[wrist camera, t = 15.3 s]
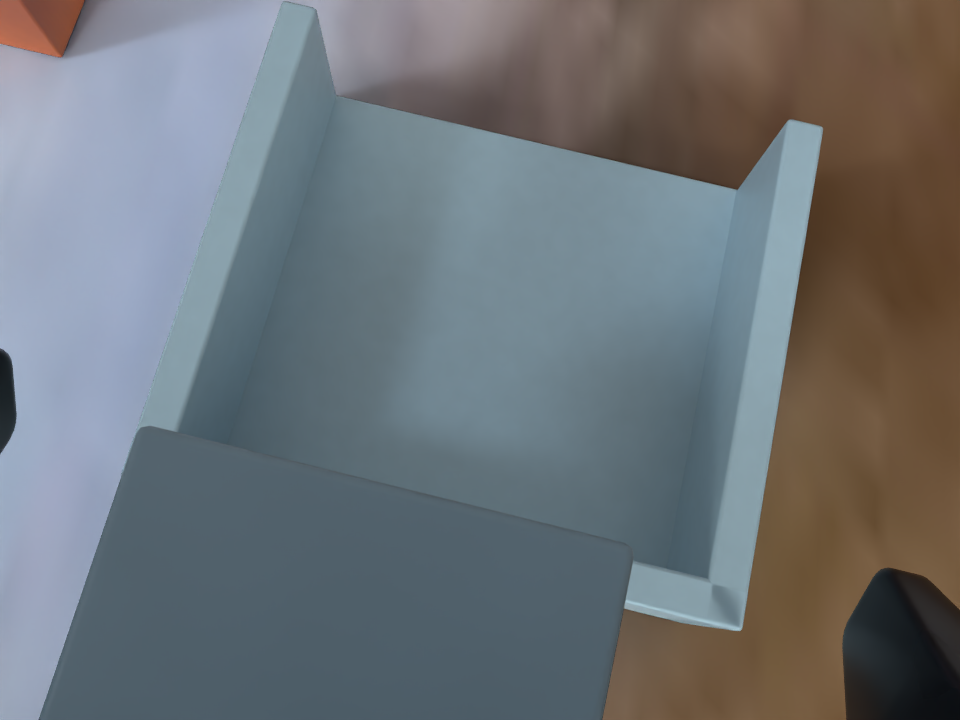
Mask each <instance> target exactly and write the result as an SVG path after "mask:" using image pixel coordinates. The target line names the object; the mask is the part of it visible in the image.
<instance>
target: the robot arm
mask: <svg viewBox="0 0 960 720" xmlns="http://www.w3.org/2000/svg"><path fill="white" fill-rule="evenodd" d="M15 424H16V402H15V391H14V379H13V368H12V361H11V358H10V356H9V355H8V353H7V352H5V351H4V350H3V349H0V454H1V452H2V451H3V449H4V448H5V446H6V444H7V443H8V441H9V440H10V438H11V436H12V434H13V431H14V428H15ZM843 666H844V684H845V702H846V720H960V610H959V609H958V608H957V607H956V606H955V605H954V604H953V603H952V602H951V601H950V600H949V599H948V598H947V597H946V596H945V595H944V594H943V593H942V592H941V591H940V590H939V589H938V588H937V587H936V586H935V585H934V584H933V583H932V582H931V581H929V580H928V579H927V578H925V577H923V576H921V575H918V574H914V573H909V572H905V571H901V570H897V569H893V568H884V569H881V570H880V571H878V572H877V573H876V574H875V576H874V577H873V578H872V580H871V582H870V584H869V585H868V587H867V589H866V591H865V592H864V594H863V596H862V598H861V599H860V601H859V603H858V604H857V606H856V608H855V610H854V611H853V613H852V615H851V617H850V618H849V620H848V622H847V624H846V627H845V630H844V635H843Z"/></svg>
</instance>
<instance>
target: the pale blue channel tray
mask: <svg viewBox="0 0 960 720" xmlns="http://www.w3.org/2000/svg"><path fill="white" fill-rule="evenodd" d="M822 133H823V128H822V127H821V126H818V125H814V124H809V123H805V122H801V121H797V120H788V121H787V123H786V124H785V125H784V127H783V128H782V129H781V131H780V132H779V134H778V135H777V136H776V138H775V139H774V140H773V142H772V143H771V145H770V146H769V147H768V149H767V150H766V152H765V153H764V154H763V156H762V157H761V158H760V160H759V161H758V163H757V164H756V165H755V167H754V168H753V170H752V171H751V172H750V174H749V175H748V176H747V178H746V179H745V181H744V182H743V183H742V185H741V186H740V187H739V189H738V190H736V189H731V188H727V187H723V186H719V185H715V184H710V183H706V182H702V181H698V180H693V179H689V178H685V177H681V176H676V175H672V174H668V173H664V172H659V171H655V170H651V169H647V168H642V167H638V166H634V165H630V164H626V163H621V162H617V161H613V160H609V159H604V158H600V157H596V156H592V155H587V154H583V153H579V152H575V151H570V150H566V149H562V148H558V147H553V146H549V145H545V144H541V143H537V142H532V141H528V140H524V139H520V138H515V137H511V136H507V135H503V134H498V133H494V132H490V131H486V130H481V129H477V128H473V127H469V126H464V125H460V124H456V123H452V122H447V121H443V120H439V119H435V118H431V117H426V116H422V115H418V114H414V113H409V112H405V111H401V110H397V109H392V108H388V107H384V106H380V105H375V104H371V103H367V102H363V101H358V100H354V99H350V98H346V97H342V96H337V95H336V93H335V89H334V85H333V80H332V76H331V72H330V67H329V63H328V59H327V54H326V50H325V45H324V41H323V37H322V32H321V28H320V24H319V19H318V15H317V10H316V9H315V8H313V7H309V6H304V5H300V4H296V3H291V2H287V1H283V3H282V4H281V7H280V10H279V13H278V16H277V19H276V22H275V25H274V28H273V31H272V34H271V37H270V39H269V42H268V45H267V48H266V51H265V54H264V57H263V60H262V63H261V66H260V69H259V72H258V75H257V78H256V81H255V83H254V86H253V89H252V92H251V95H250V98H249V101H248V104H247V107H246V110H245V113H244V116H243V119H242V122H241V125H240V127H239V130H238V133H237V136H236V139H235V142H234V145H233V148H232V151H231V154H230V157H229V160H228V163H227V166H226V169H225V172H224V174H223V177H222V180H221V183H220V186H219V189H218V192H217V195H216V198H215V201H214V204H213V207H212V210H211V213H210V216H209V218H208V221H207V224H206V227H205V230H204V233H203V236H202V239H201V242H200V245H199V248H198V251H197V254H196V257H195V260H194V262H193V265H192V268H191V271H190V274H189V277H188V280H187V283H186V286H185V289H184V292H183V295H182V298H181V301H180V304H179V306H178V309H177V312H176V315H175V318H174V321H173V324H172V327H171V330H170V333H169V336H168V339H167V342H166V345H165V348H164V351H163V353H162V356H161V359H160V362H159V365H158V368H157V371H156V374H155V377H154V380H153V383H152V386H151V389H150V392H149V395H148V397H147V400H146V403H145V406H144V409H143V412H142V415H141V418H140V421H139V424H138V427H137V430H136V433H135V436H134V439H133V441H132V443H131V446H130V449H129V452H128V455H127V458H126V461H125V464H124V467H123V470H122V473H121V479H120V482H119V485H118V488H117V491H116V494H115V497H114V500H113V503H112V506H111V509H110V512H109V515H108V517H107V520H106V523H105V526H104V529H103V532H102V535H101V538H100V541H99V544H98V547H97V550H96V553H95V556H94V559H93V562H92V564H91V567H90V570H89V573H88V576H87V579H86V582H85V585H84V588H83V591H82V594H81V597H80V600H79V603H78V606H77V609H76V611H75V614H74V617H73V620H72V623H71V626H70V629H69V632H68V635H67V638H66V641H65V644H64V647H63V650H62V653H61V656H60V658H59V661H58V664H57V667H56V670H55V673H54V676H53V679H52V682H51V685H50V688H49V691H48V694H47V697H46V700H45V702H44V705H43V708H42V711H41V714H40V717H39V720H602V718H603V713H604V708H605V703H606V698H607V692H608V687H609V682H610V677H611V672H612V667H613V662H614V657H615V651H616V646H617V641H618V636H619V631H620V626H621V621H622V616H623V610H624V609H628V610H632V611H636V612H640V613H644V614H648V615H652V616H656V617H660V618H664V619H668V620H672V621H676V622H680V623H685V624H692V625H699V626H706V627H713V628H720V629H727V630H734V631H741V629H742V627H743V621H744V615H745V609H746V602H747V596H748V588H749V582H750V576H751V570H752V564H753V558H754V551H755V545H756V539H757V533H758V527H759V521H760V515H761V508H762V502H763V496H764V490H765V484H766V478H767V471H768V465H769V459H770V453H771V447H772V441H773V435H774V428H775V422H776V416H777V410H778V404H779V398H780V392H781V385H782V379H783V373H784V367H785V361H786V355H787V349H788V342H789V336H790V330H791V324H792V318H793V312H794V306H795V299H796V293H797V287H798V281H799V275H800V269H801V263H802V256H803V250H804V244H805V238H806V232H807V226H808V219H809V213H810V207H811V201H812V195H813V189H814V183H815V176H816V170H817V164H818V158H819V152H820V146H821V140H822Z"/></svg>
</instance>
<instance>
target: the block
mask: <svg viewBox="0 0 960 720" xmlns="http://www.w3.org/2000/svg"><path fill="white" fill-rule="evenodd" d="M84 1H85V0H0V44H5V45H9V46H13V47H17V48H22V49H26V50H30V51H34V52H39V53H43V54H47V55H51V56H56V57H62V56H63V54H64V51H65V49H66V46H67V44H68V41H69V39H70V36H71V34H72V31H73V29H74V26H75V24H76V21H77V19H78V16H79V14H80V11H81V9H82V6H83V4H84Z"/></svg>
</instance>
